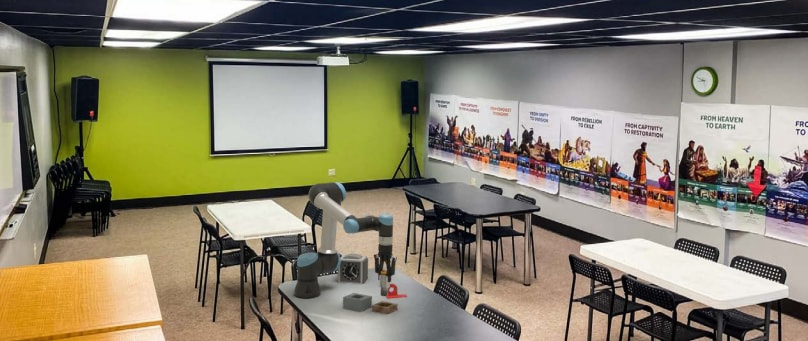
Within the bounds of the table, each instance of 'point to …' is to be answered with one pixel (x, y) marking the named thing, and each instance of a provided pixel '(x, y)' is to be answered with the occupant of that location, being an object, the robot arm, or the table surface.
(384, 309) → the frame
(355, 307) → the block
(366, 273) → the alarm clock
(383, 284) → the pin
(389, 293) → the bracket
